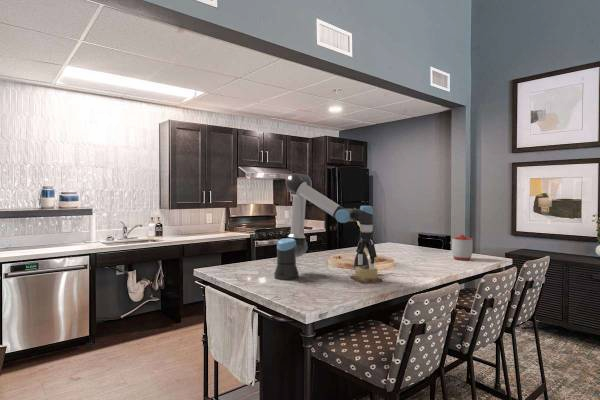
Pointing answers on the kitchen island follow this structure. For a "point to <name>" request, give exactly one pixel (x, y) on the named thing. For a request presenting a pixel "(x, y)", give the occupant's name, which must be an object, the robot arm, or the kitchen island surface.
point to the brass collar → (365, 273)
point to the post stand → (366, 280)
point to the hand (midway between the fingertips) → (365, 266)
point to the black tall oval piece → (365, 260)
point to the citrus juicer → (462, 247)
